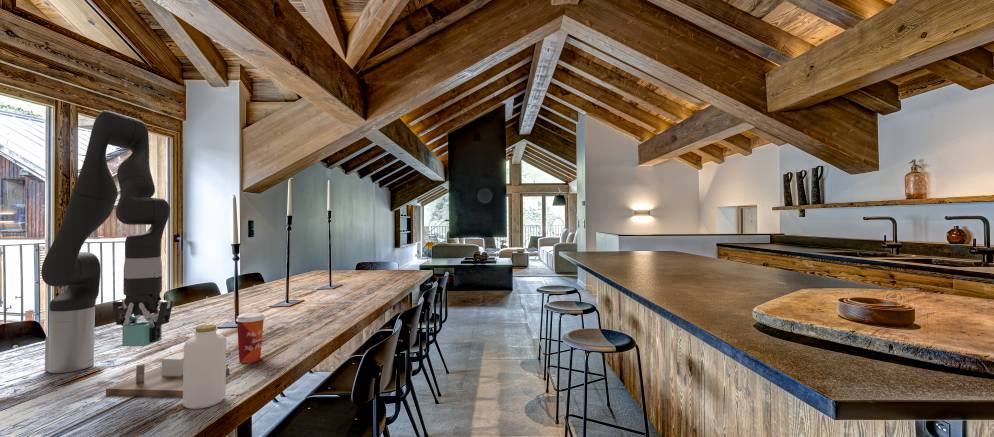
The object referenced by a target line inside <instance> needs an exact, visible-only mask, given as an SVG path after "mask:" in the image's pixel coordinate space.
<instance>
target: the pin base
mask: <svg viewBox="0 0 994 437" xmlns="http://www.w3.org/2000/svg"><path fill="white" fill-rule="evenodd" d="M135 370H136V372H135V376H133V377H131V378H129V379H126V380H123V381H121V382H118V383H116V384H114V385H111V386H109V387H106V388H105V396H134V397H135V396H138V397H141V396H142V397H143V396H144V397H172V398H173V397H178V398H183V375H182V376H162V365H161V366H158V367H156V368H153V369H150V370H148V371H145V364H143V363H141V364H137V365H136V367H135ZM229 374H230V367H226V376H227V375H229Z"/></svg>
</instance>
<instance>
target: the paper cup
mask: <svg viewBox="0 0 994 437" xmlns="http://www.w3.org/2000/svg"><path fill="white" fill-rule="evenodd" d="M265 318H266V317H265V316H264V313H263V312H247V313H246V312H245V313H242V314H239V315H237V317H236V320H235V322H236V323H237V325H236V326H237V345H238V362H239V363H240V364H252V363H256V362H258V361H260V360H261V355H262V346H263V344H262V343H263V334H264V332H263V330H264V320H265Z"/></svg>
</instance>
